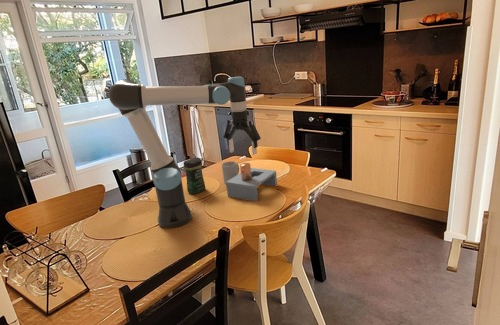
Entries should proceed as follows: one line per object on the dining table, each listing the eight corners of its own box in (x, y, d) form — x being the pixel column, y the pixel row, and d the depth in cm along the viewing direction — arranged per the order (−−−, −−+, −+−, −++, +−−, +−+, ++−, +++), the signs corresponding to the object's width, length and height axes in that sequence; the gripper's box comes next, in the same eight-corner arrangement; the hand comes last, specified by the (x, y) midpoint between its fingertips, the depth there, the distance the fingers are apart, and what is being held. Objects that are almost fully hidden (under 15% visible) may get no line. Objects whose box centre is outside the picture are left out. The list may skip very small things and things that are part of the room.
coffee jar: (194, 195, 178) (189, 162, 172) (185, 192, 183) (179, 160, 177) (208, 189, 184) (203, 157, 179) (199, 186, 190) (194, 155, 184)
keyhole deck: (255, 201, 163) (254, 186, 161) (227, 196, 172) (225, 182, 170) (277, 184, 181) (276, 170, 178) (250, 180, 190) (249, 167, 187)
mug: (232, 185, 186) (230, 167, 182) (220, 183, 191) (218, 165, 187) (245, 178, 195) (243, 160, 191) (233, 176, 200) (231, 158, 196)
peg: (249, 194, 169) (246, 166, 165) (241, 193, 172) (237, 165, 167) (255, 190, 173) (252, 163, 169) (246, 189, 176) (243, 162, 171)
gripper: (265, 109, 156) (268, 152, 162) (222, 108, 169) (227, 148, 176) (257, 112, 150) (260, 157, 156) (213, 111, 163) (218, 152, 170)
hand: (243, 153), depth 166 cm, fingers open, 13 cm apart
